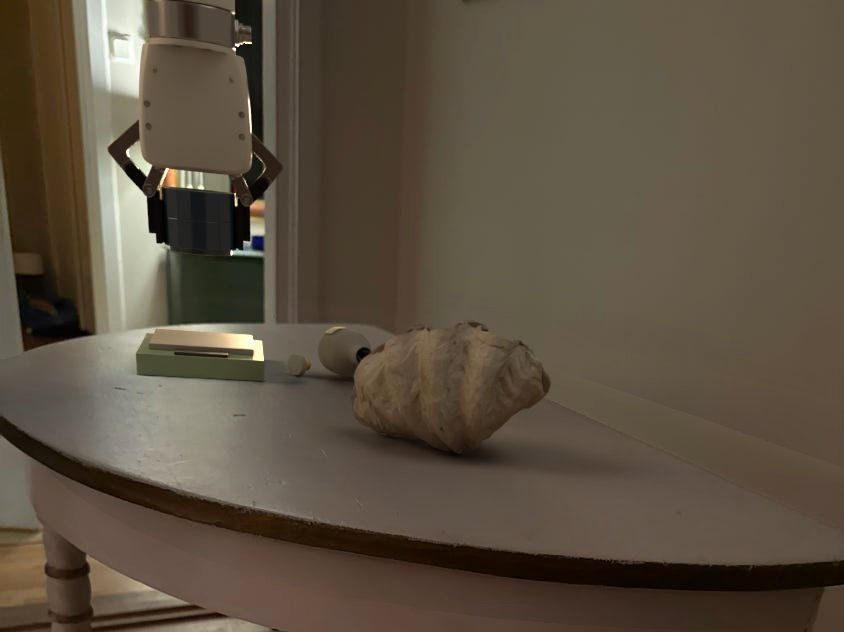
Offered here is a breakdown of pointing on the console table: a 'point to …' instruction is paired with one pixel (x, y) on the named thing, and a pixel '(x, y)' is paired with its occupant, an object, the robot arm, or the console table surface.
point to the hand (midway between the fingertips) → (200, 244)
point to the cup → (199, 221)
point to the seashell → (447, 385)
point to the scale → (201, 355)
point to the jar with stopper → (335, 352)
